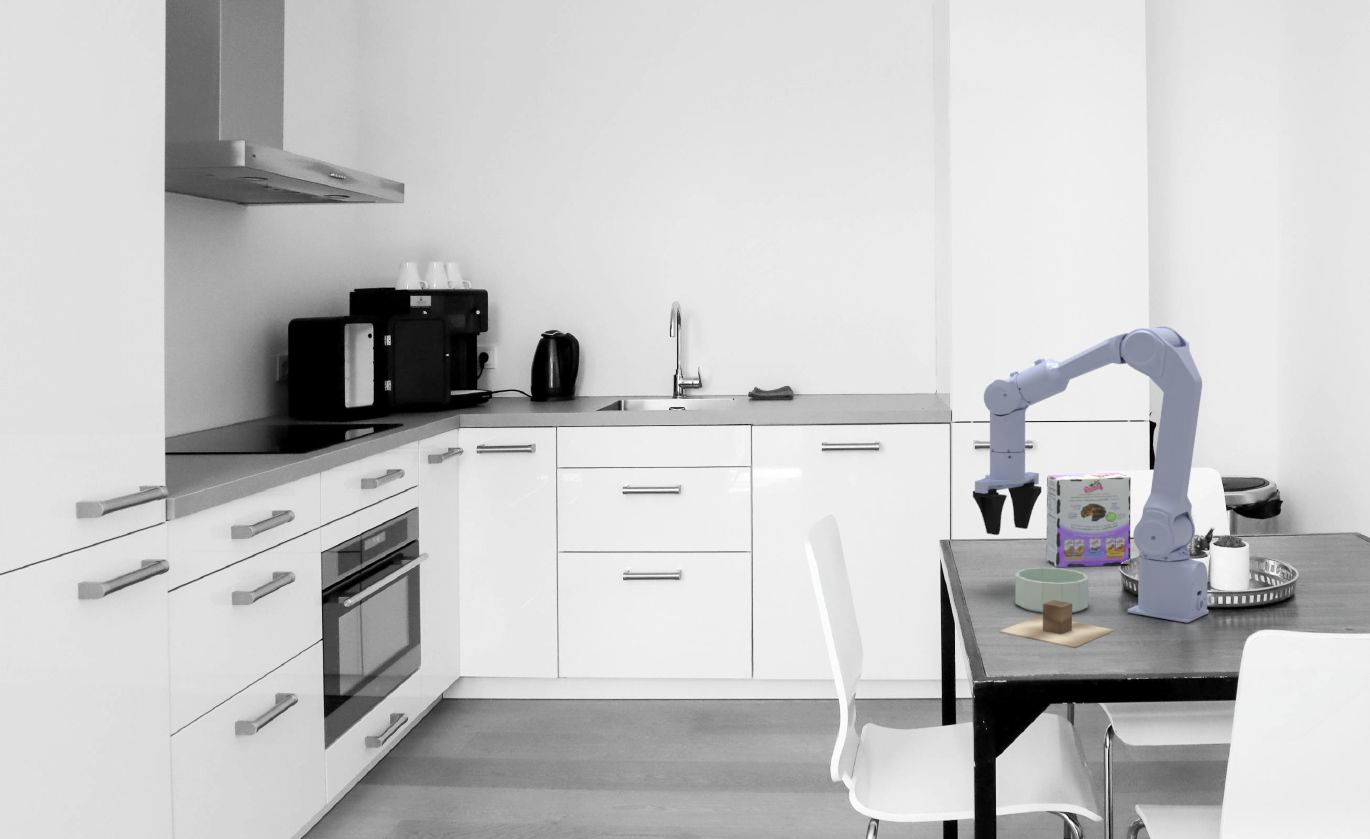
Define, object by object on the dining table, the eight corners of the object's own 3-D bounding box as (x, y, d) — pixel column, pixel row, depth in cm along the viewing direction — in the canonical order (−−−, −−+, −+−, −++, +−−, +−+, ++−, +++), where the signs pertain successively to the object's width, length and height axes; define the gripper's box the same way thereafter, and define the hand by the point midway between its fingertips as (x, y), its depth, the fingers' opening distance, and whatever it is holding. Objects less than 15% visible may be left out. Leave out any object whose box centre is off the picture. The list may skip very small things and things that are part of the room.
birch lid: (1115, 635, 172) (1115, 603, 172) (1075, 652, 164) (1076, 618, 164) (1040, 620, 181) (1041, 589, 180) (999, 636, 173) (999, 604, 172)
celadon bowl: (1100, 605, 187) (1100, 574, 187) (1066, 618, 179) (1066, 586, 179) (1037, 594, 195) (1037, 564, 194) (1002, 606, 187) (1002, 576, 187)
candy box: (1118, 558, 220) (1119, 471, 218) (1131, 565, 214) (1132, 476, 212) (1045, 560, 219) (1045, 473, 218) (1056, 567, 213) (1057, 478, 212)
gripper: (1014, 445, 204) (1014, 522, 205) (960, 452, 195) (960, 533, 196) (1049, 448, 198) (1048, 527, 199) (994, 456, 189) (994, 539, 191)
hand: (1007, 530), depth 197 cm, fingers open, 7 cm apart
